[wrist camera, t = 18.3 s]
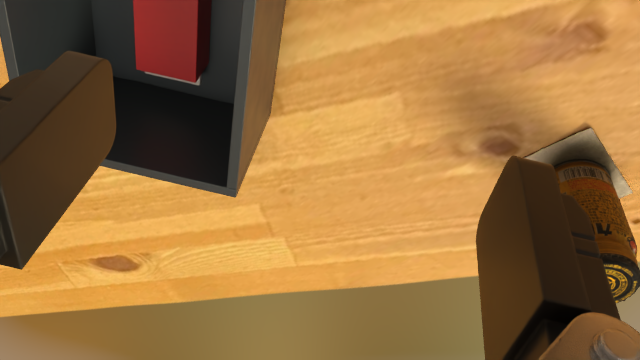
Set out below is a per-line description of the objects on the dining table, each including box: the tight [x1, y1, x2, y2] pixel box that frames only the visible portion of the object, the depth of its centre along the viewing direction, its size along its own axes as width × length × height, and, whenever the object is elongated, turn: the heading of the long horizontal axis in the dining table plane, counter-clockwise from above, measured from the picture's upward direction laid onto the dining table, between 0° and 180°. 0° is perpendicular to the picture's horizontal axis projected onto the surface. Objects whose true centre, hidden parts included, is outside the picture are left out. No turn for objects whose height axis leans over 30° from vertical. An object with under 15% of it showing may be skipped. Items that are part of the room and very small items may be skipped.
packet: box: [133, 0, 212, 85], centre depth 45 cm, size 11×5×4 cm, turn 170°
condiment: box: [525, 128, 640, 303], centre depth 47 cm, size 7×8×12 cm
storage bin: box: [0, 0, 286, 197], centre depth 42 cm, size 18×17×12 cm
